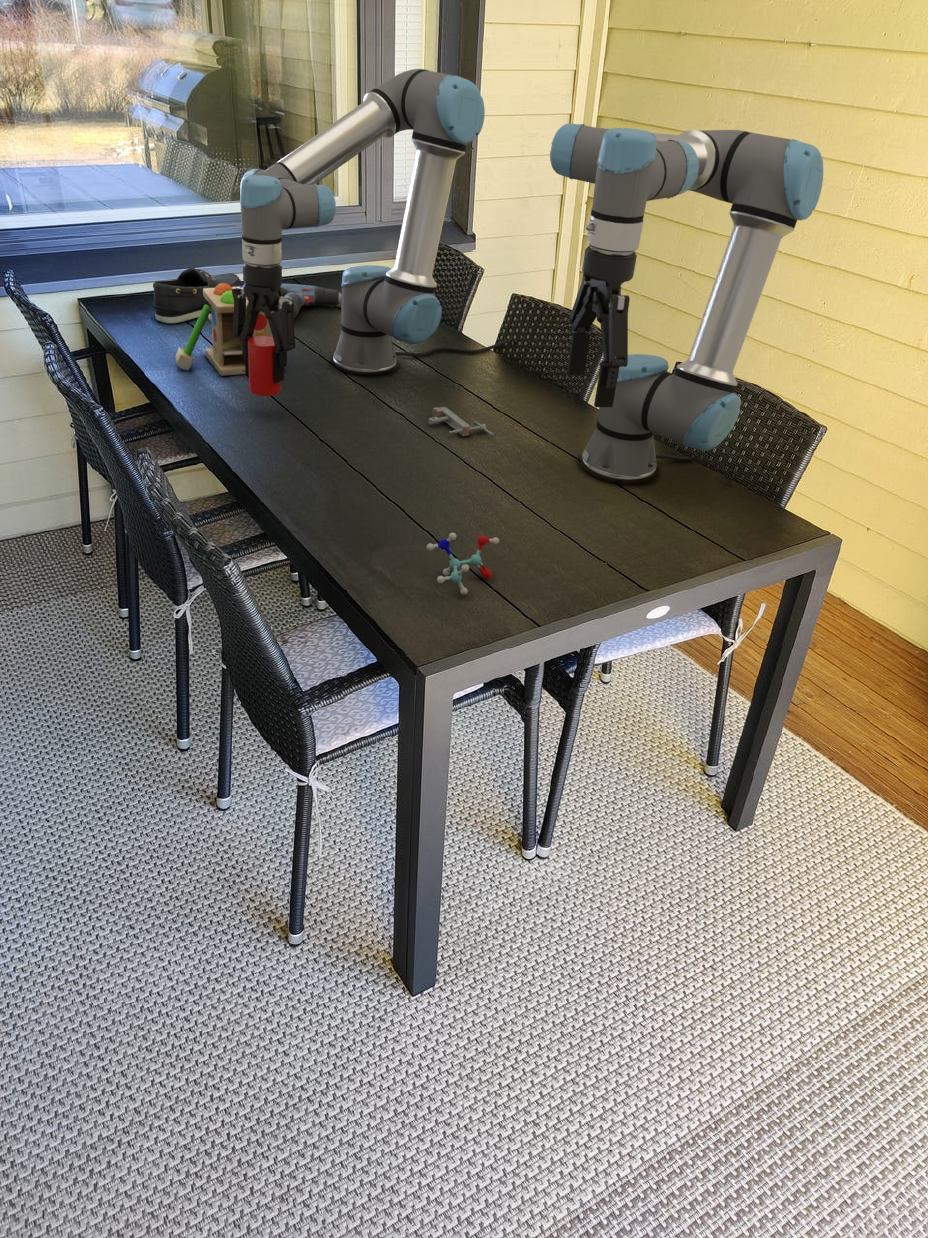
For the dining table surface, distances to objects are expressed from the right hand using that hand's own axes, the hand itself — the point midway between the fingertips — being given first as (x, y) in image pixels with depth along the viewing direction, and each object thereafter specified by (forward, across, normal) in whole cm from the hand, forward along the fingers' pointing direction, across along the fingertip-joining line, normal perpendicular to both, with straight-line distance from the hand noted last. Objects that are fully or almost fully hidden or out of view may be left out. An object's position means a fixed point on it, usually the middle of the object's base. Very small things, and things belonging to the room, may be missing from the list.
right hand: (588, 389), depth 153 cm
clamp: (+30, -53, -7) cm, 61 cm away
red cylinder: (+24, -62, -47) cm, 81 cm away
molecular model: (+30, +7, -20) cm, 37 cm away
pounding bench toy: (+30, -91, -55) cm, 111 cm away
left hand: (+22, -62, -47) cm, 81 cm away
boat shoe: (+30, -134, -61) cm, 150 cm away
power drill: (+30, -131, -33) cm, 138 cm away
